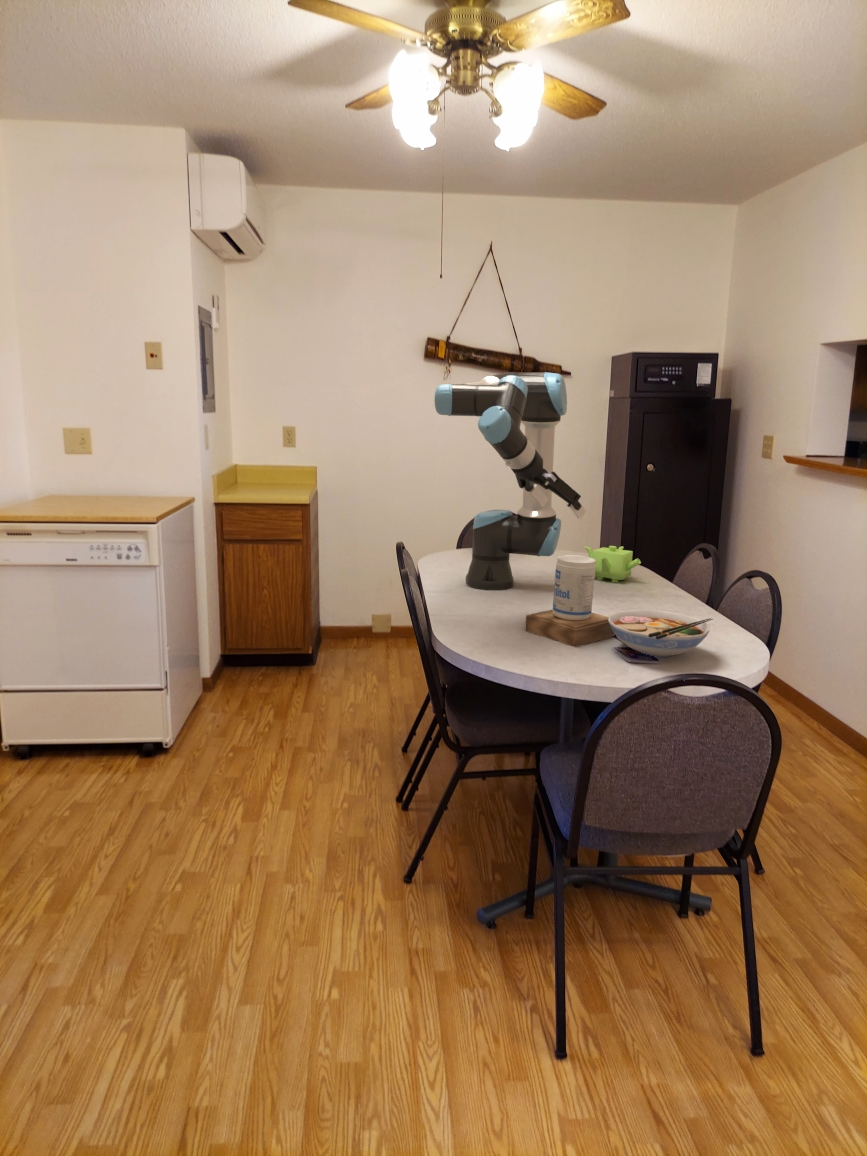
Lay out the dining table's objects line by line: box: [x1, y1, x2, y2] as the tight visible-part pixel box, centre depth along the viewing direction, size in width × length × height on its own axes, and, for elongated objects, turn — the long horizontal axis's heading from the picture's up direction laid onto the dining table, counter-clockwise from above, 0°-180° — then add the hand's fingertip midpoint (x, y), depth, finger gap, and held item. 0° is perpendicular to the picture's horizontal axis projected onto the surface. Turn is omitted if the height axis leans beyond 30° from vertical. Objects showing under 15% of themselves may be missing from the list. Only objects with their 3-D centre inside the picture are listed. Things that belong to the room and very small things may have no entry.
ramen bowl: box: [608, 609, 714, 658], centre depth 178 cm, size 25×23×8 cm
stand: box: [524, 608, 615, 647], centre depth 192 cm, size 16×16×4 cm
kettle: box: [582, 545, 642, 584], centre depth 254 cm, size 15×14×11 cm
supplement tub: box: [552, 554, 596, 621], centre depth 190 cm, size 10×10×15 cm
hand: (563, 508), depth 201 cm, fingers open, 13 cm apart
